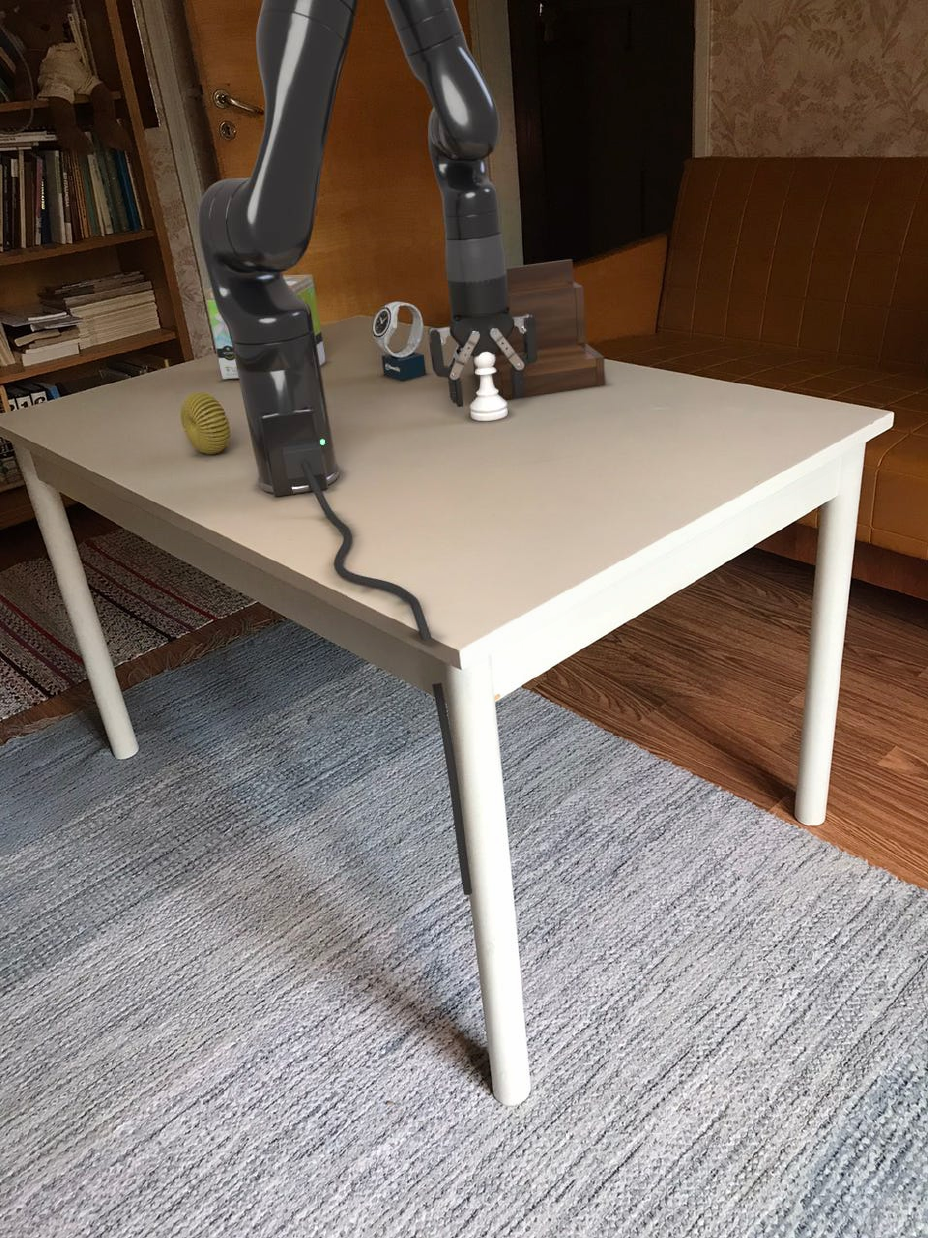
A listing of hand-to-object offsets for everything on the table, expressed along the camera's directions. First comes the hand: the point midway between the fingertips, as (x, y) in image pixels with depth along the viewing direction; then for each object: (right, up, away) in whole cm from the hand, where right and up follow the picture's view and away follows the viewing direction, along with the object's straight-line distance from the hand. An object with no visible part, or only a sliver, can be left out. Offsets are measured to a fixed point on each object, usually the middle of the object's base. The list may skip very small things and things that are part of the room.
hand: (488, 400), depth 134 cm
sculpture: (-36, -7, -2) cm, 37 cm away
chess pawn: (0, -2, +1) cm, 2 cm away
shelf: (+7, +6, +14) cm, 17 cm away
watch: (-13, +9, +24) cm, 28 cm away
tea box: (-35, +12, +33) cm, 50 cm away
